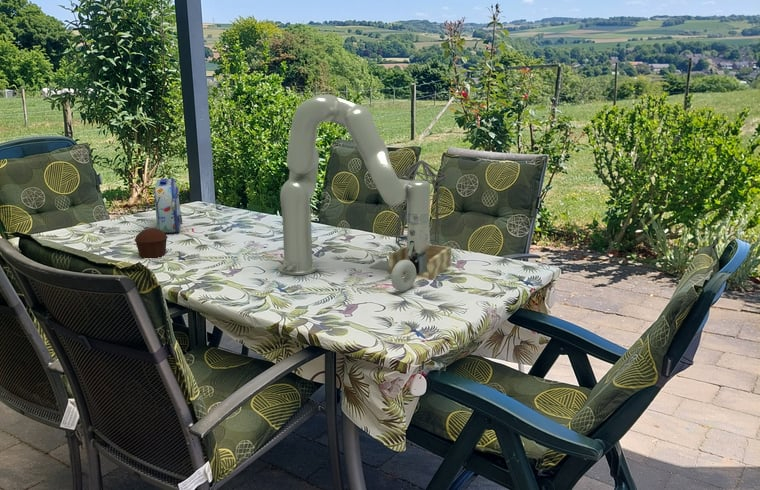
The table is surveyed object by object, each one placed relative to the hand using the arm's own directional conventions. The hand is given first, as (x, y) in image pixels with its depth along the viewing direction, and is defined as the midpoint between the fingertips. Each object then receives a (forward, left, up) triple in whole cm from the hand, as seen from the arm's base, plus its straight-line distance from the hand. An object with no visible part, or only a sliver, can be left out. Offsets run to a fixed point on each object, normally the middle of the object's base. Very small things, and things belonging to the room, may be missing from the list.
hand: (417, 270), depth 225 cm
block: (0, 0, -1) cm, 1 cm away
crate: (+3, 0, -1) cm, 3 cm away
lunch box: (+14, +119, -1) cm, 120 cm away
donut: (-19, -3, -1) cm, 19 cm away
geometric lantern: (+22, +8, -1) cm, 23 cm away
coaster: (+2, +12, -1) cm, 12 cm away
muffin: (-21, +96, -1) cm, 98 cm away
